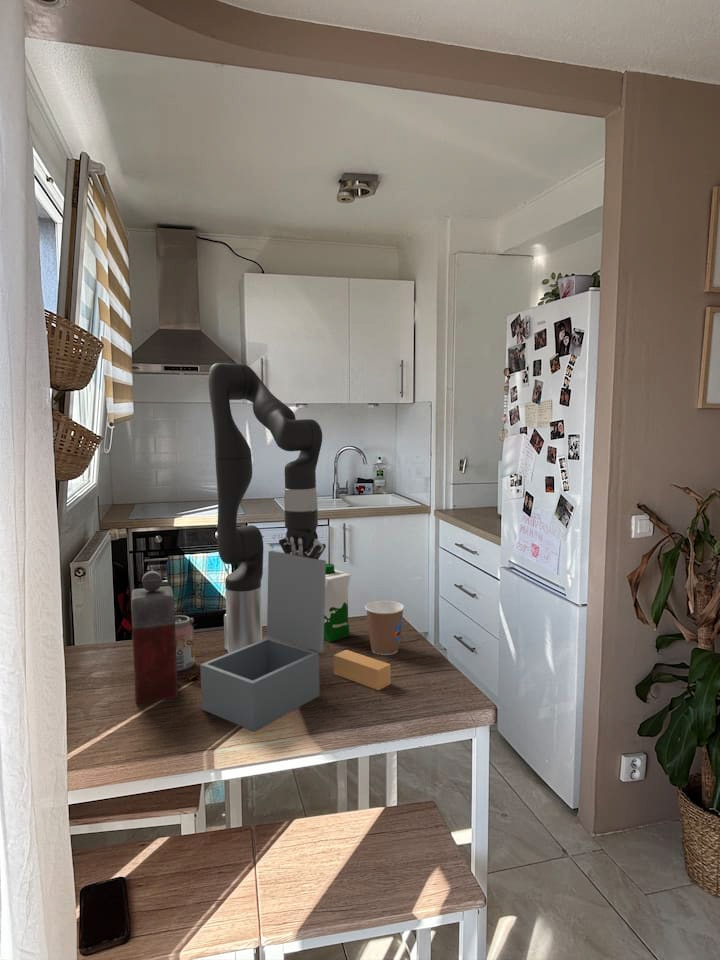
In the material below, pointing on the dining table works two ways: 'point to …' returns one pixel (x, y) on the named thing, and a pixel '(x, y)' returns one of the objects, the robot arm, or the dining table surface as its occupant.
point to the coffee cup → (384, 626)
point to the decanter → (154, 640)
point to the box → (259, 682)
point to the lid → (296, 599)
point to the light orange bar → (362, 669)
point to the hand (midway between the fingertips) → (302, 581)
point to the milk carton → (336, 604)
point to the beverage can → (184, 642)
